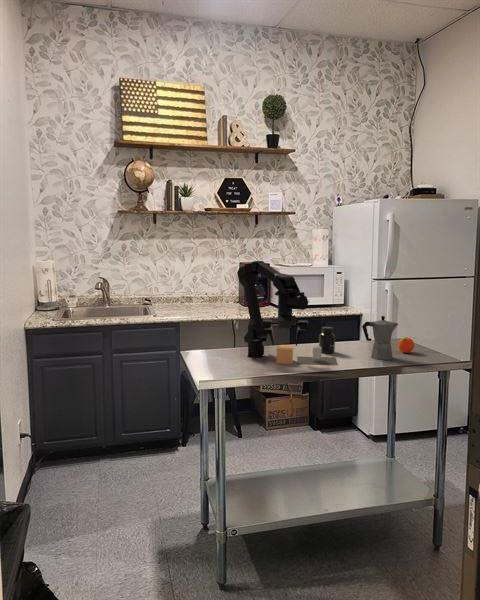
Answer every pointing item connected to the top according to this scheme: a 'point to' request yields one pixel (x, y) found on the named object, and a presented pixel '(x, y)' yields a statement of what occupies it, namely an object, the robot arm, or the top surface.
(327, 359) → the dark gray mat
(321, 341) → the supplement bottle
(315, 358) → the gray rectangular block
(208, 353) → the top surface
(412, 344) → the clementine
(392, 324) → the coffeepot
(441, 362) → the top surface
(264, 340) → the robot arm
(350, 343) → the top surface
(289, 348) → the rounded wooden cube
